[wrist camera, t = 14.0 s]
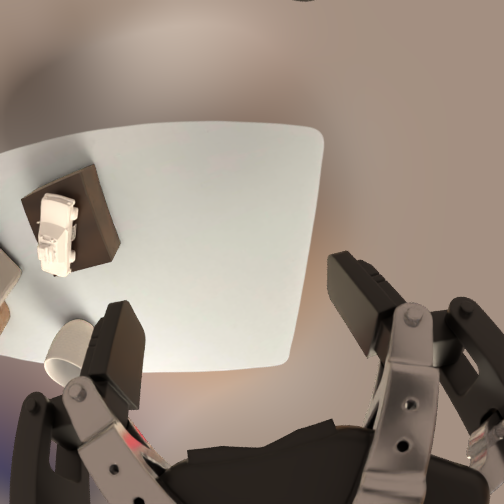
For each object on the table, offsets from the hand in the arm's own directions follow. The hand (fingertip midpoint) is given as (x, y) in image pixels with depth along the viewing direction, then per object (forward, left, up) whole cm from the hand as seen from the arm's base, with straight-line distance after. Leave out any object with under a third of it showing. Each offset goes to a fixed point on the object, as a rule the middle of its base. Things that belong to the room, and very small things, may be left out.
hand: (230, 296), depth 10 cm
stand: (+3, -23, -32) cm, 40 cm away
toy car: (+3, -23, -26) cm, 35 cm away
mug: (+28, -35, -32) cm, 55 cm away
